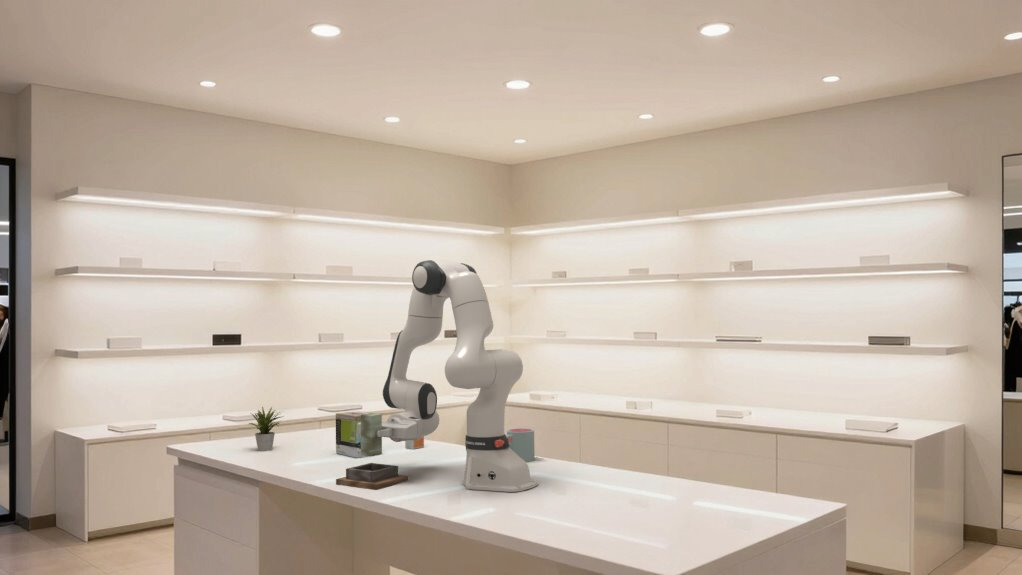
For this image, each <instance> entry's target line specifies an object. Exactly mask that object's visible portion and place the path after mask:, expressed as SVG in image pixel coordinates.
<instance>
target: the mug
mask: <svg viewBox="0 0 1022 575" xmlns="http://www.w3.org/2000/svg"><path fill="white" fill-rule="evenodd" d="M505 435H506V437H507V438H508V439H509V438H512V439H511V440H510V441H512V442H509V445H510V448H511V449H512V450H513V451H514V452H515V453H516V454H517V455H518V456H519V457H521V458H522V459H523V460H524V461H525V462H526V463H531V462H535V460H536V459H535V458H536V457H535V453H536V452H535V429H533V428H527V427H526V428H520V427H519V428H510V429H509V428H508V429H507V430H506V434H505Z"/></svg>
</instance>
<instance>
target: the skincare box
mask: <svg viewBox="0 0 1022 575" xmlns="http://www.w3.org/2000/svg"><path fill="white" fill-rule="evenodd" d="M404 443H405V444H404V445H405V449H408V450H416V449H421V448H424V447H425V436H423V437H421V439H420V440H407V441H404Z"/></svg>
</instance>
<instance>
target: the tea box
mask: <svg viewBox="0 0 1022 575" xmlns="http://www.w3.org/2000/svg"><path fill="white" fill-rule="evenodd" d="M368 413H369V412H366V411H365V412H364V411H345V412H339V413H335V453H336V454H339V455H344V456H348V457H353V458H355V459H357V458H365V457H367V458H368V456H364V455H361V435H359V434H357V424H358V423H360V422H361V415H363V414H368Z"/></svg>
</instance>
